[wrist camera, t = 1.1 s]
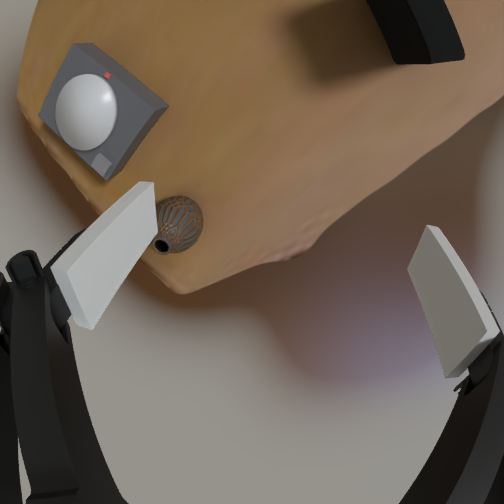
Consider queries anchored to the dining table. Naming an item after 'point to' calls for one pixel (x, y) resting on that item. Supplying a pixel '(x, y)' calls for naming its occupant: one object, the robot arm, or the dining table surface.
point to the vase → (177, 225)
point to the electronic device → (418, 31)
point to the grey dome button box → (100, 109)
